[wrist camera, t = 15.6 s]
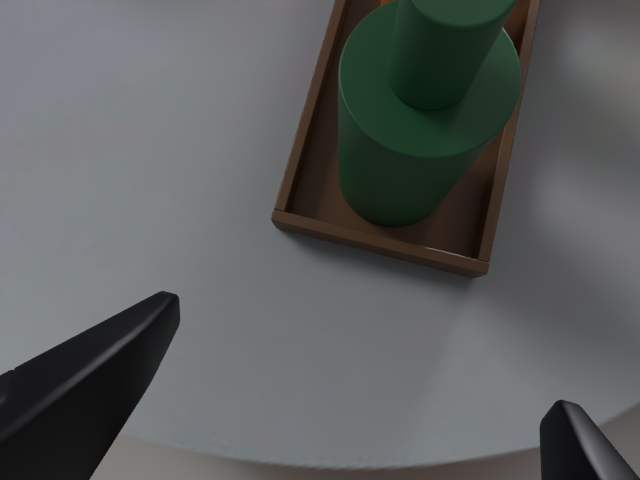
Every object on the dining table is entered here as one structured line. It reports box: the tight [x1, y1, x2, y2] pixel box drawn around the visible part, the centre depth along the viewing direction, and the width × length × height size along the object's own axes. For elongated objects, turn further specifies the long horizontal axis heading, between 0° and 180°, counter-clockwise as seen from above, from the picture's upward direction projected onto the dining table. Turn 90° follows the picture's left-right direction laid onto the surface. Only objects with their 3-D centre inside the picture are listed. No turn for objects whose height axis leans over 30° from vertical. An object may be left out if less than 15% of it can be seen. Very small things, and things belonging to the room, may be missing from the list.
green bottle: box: [338, 0, 521, 227], centre depth 17 cm, size 6×6×14 cm
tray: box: [271, 0, 541, 278], centre depth 25 cm, size 28×11×2 cm, turn 165°
